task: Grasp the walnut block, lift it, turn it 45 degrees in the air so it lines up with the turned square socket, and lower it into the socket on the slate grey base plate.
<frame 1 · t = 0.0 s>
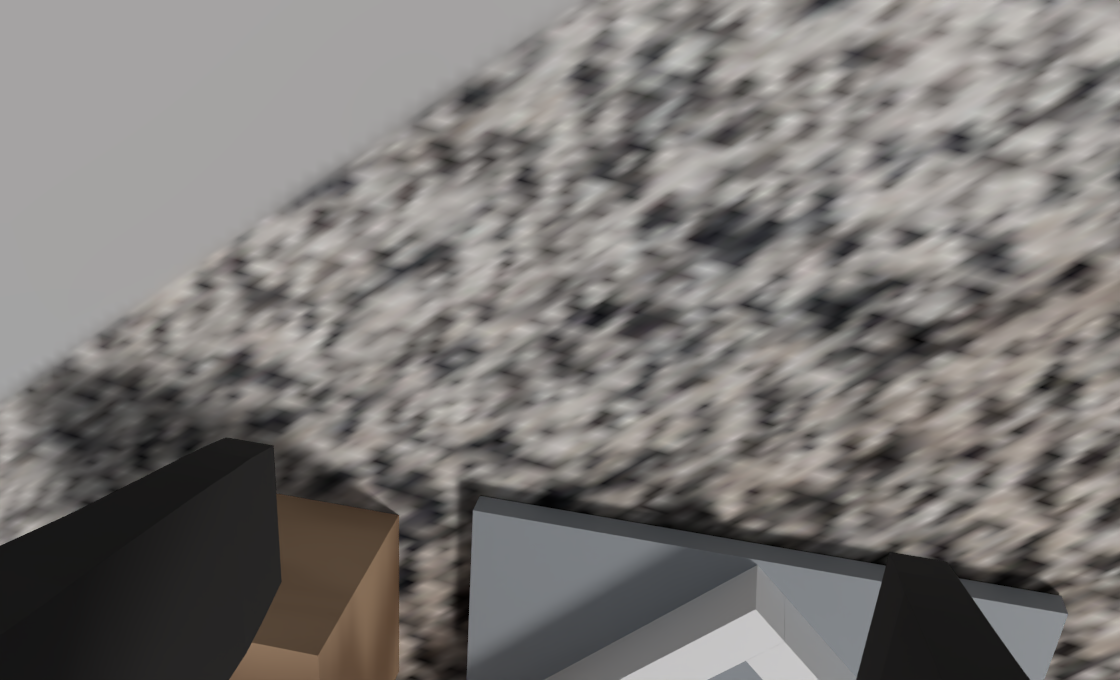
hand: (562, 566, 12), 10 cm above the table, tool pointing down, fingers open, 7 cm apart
block: (306, 576, 27), on the table
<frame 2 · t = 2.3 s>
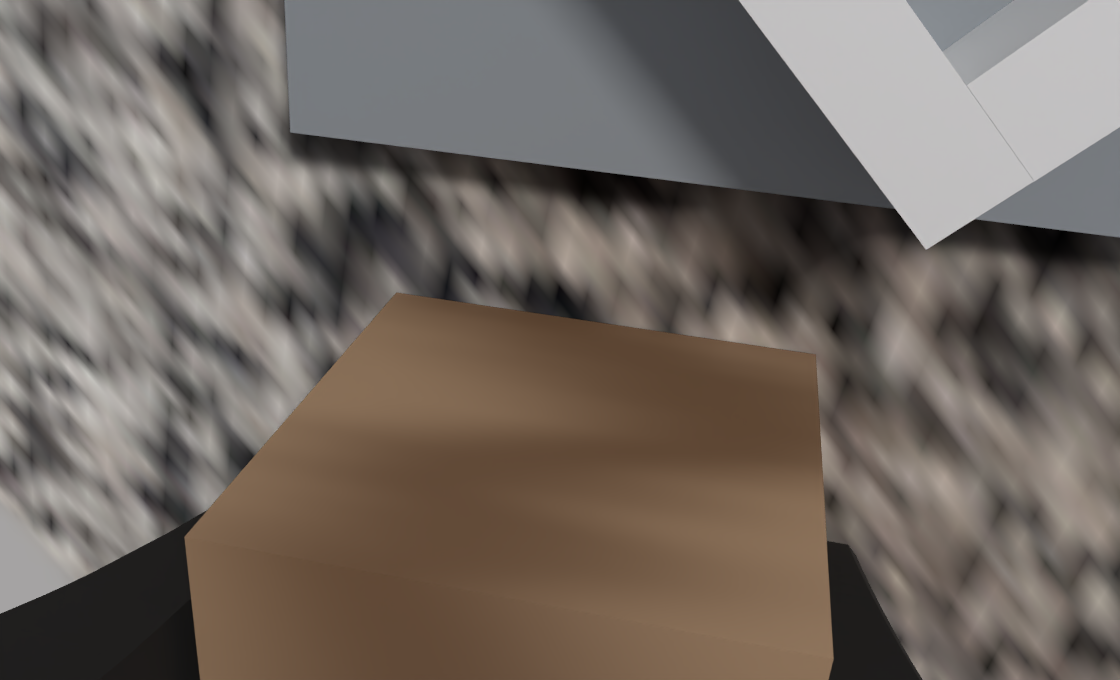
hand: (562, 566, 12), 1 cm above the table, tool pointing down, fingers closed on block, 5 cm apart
block: (582, 498, 13), on the table, touching gripper
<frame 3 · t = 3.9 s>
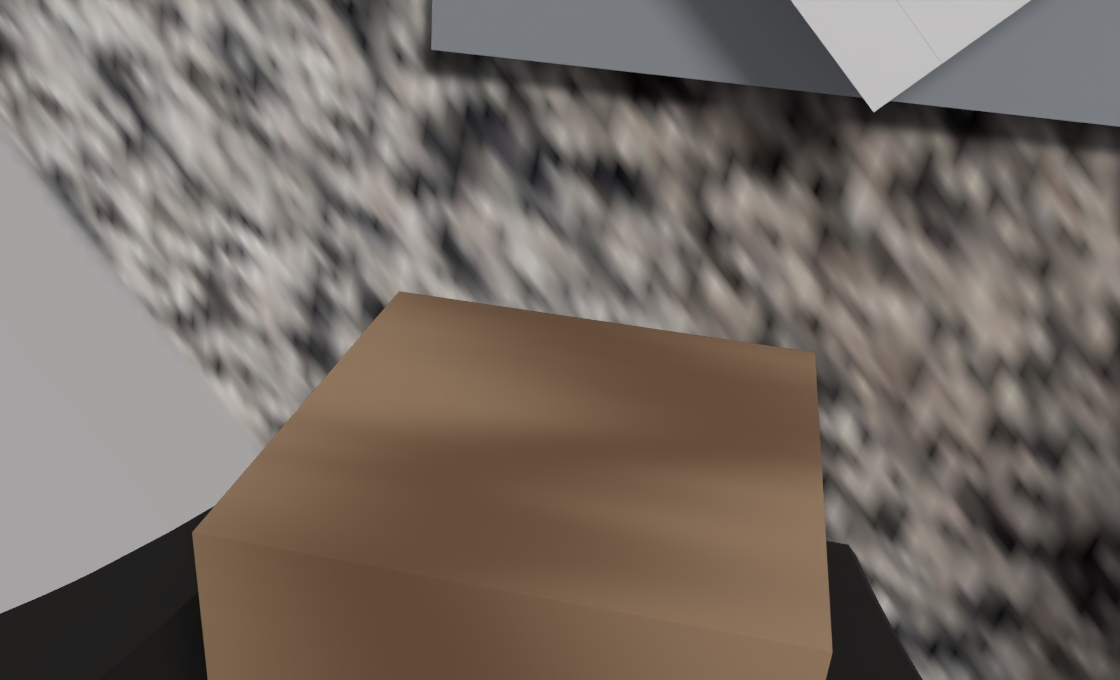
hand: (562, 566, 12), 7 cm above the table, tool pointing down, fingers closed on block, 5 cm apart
block: (584, 495, 13), point 5 cm above the table, touching gripper
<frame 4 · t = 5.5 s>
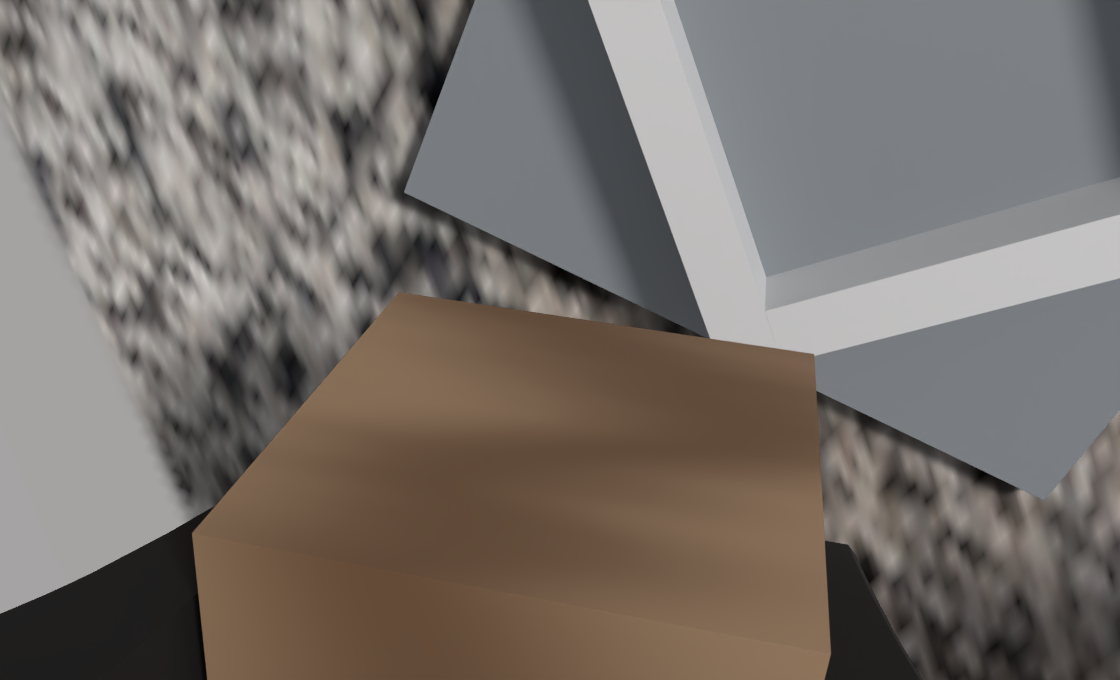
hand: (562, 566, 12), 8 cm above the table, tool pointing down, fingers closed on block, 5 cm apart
base plate: (916, 6, 16), on the table
block: (583, 496, 13), point 7 cm above the table, touching gripper
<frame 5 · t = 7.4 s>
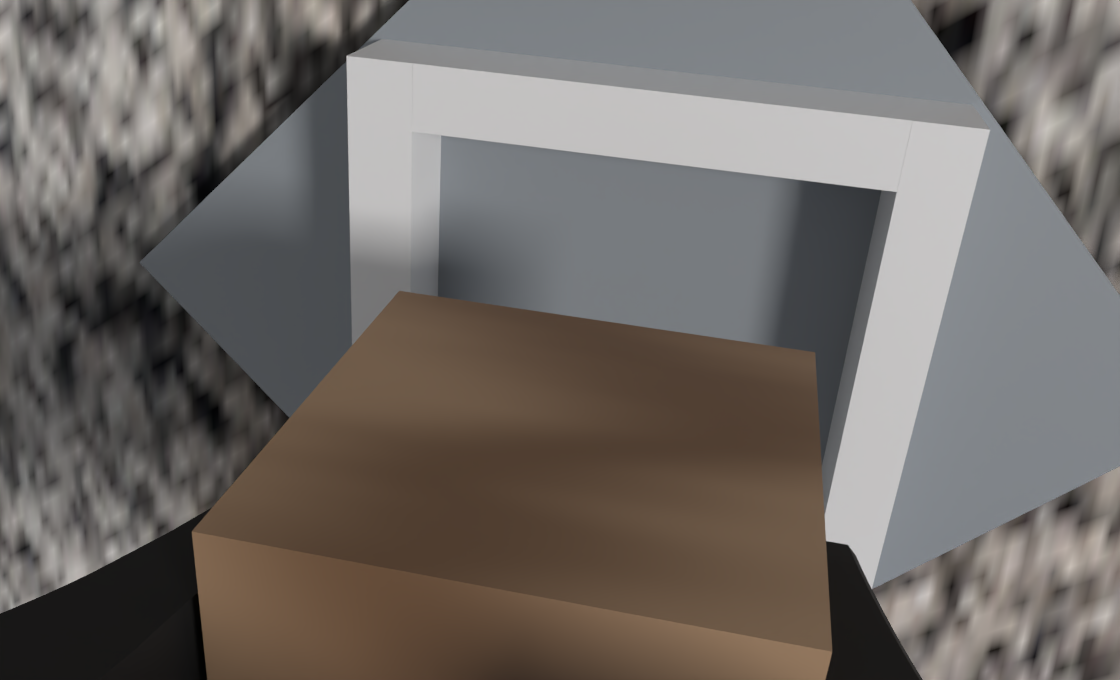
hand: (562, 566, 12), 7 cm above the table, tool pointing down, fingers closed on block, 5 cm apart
base plate: (639, 321, 18), on the table
block: (584, 495, 13), point 6 cm above the table, touching gripper
when the fingers open (3 cm above the table, at t = 9.2 s): block stays where it is, resting on base plate.
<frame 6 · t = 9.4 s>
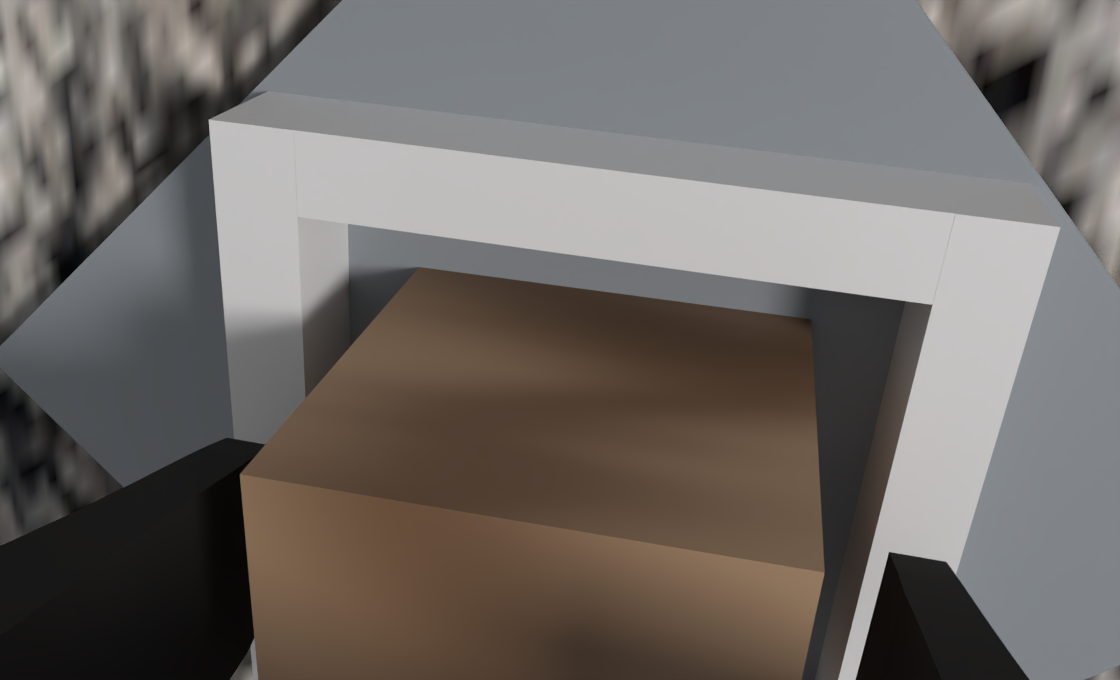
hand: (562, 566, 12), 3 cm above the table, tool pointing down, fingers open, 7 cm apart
base plate: (602, 436, 15), on the table
block: (594, 460, 14), point 1 cm above the table, touching base plate
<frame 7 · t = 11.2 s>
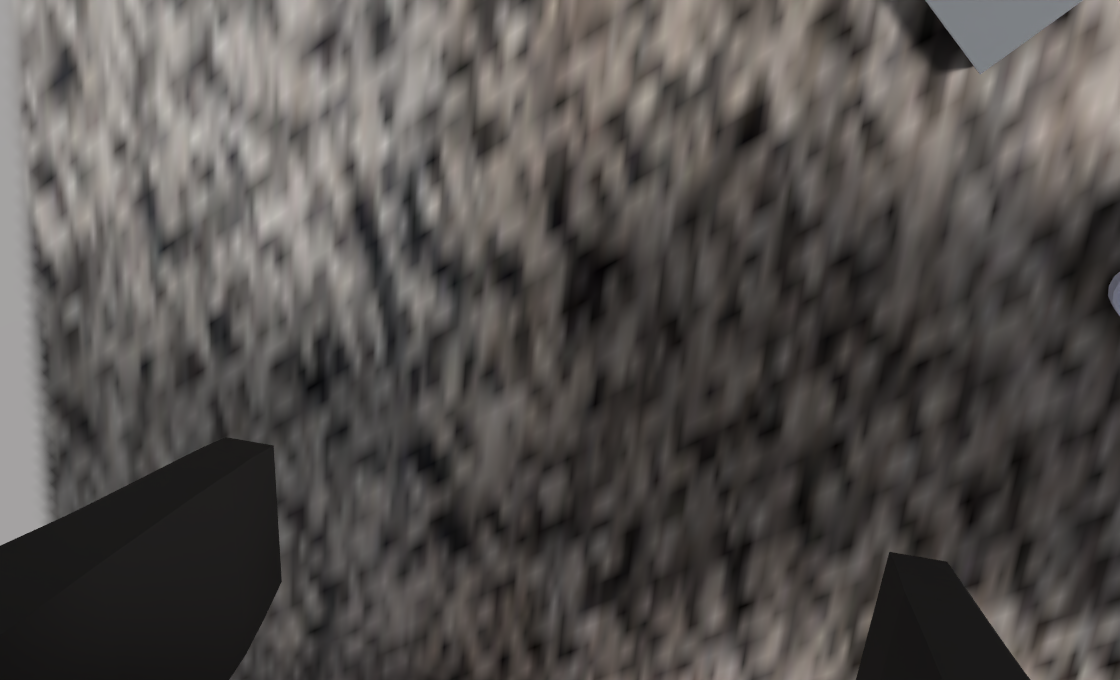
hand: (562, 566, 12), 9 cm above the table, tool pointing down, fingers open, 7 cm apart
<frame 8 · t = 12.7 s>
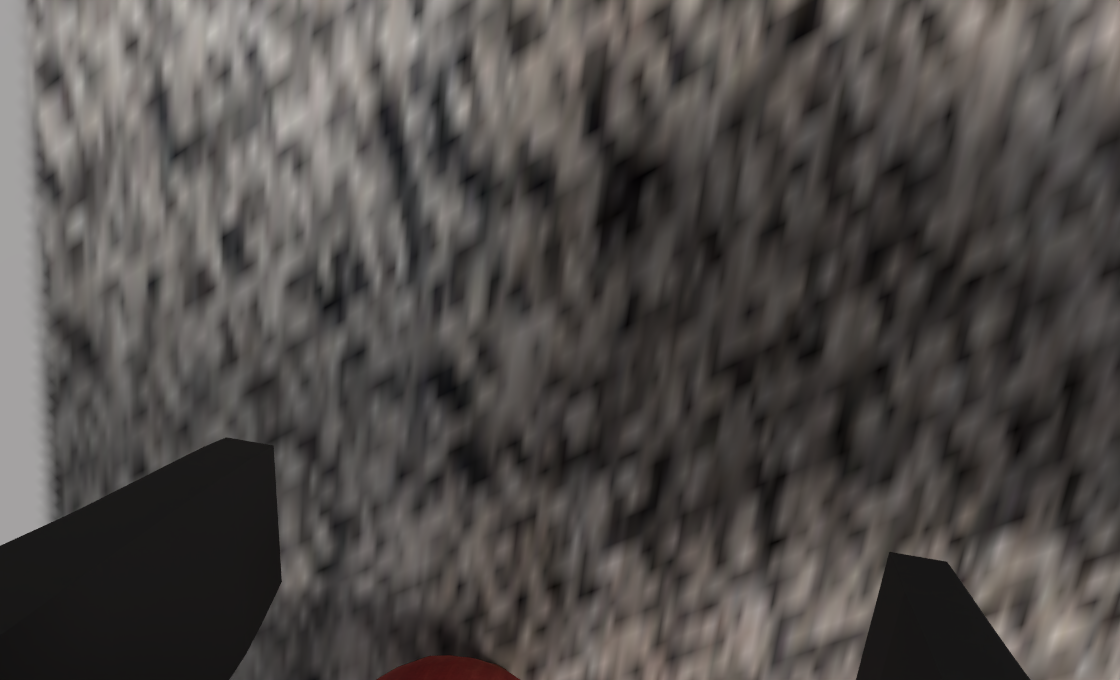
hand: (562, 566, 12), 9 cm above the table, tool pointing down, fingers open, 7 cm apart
onion: (492, 671, 26), on the table
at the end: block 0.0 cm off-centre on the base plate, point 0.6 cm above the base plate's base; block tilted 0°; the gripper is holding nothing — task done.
